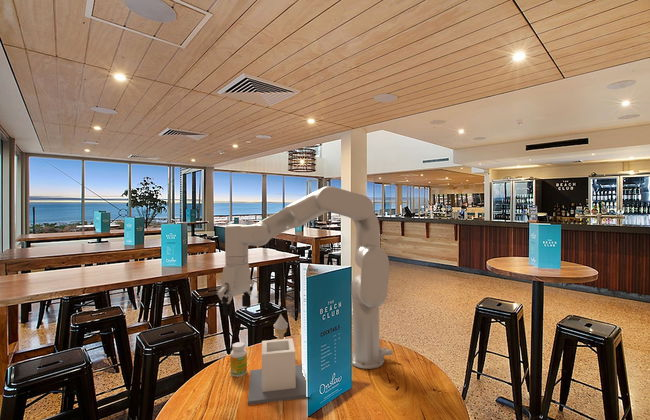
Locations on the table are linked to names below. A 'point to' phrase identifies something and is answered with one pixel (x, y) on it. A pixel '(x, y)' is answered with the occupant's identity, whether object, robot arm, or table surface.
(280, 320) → the ice cream cone
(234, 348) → the supplement bottle
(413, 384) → the table surface
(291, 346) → the sleeve
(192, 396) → the table surface
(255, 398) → the mat
